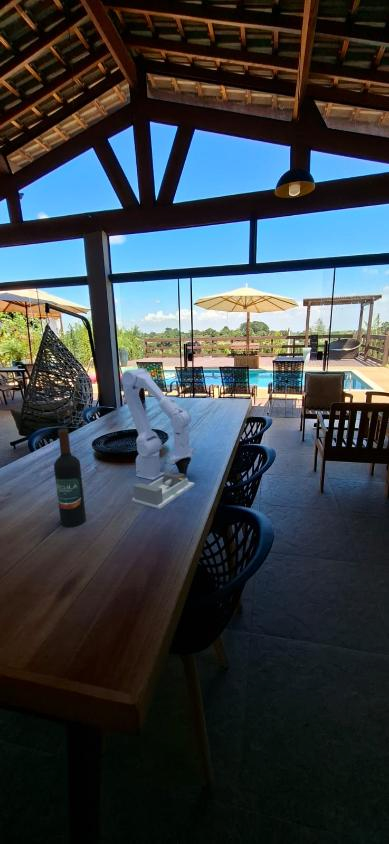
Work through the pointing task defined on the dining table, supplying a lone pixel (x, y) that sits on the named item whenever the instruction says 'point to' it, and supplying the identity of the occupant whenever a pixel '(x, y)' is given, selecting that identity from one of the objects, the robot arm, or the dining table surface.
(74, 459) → the wine bottle
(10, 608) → the dining table surface
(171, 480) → the block with orange peg
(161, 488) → the gauge frame
